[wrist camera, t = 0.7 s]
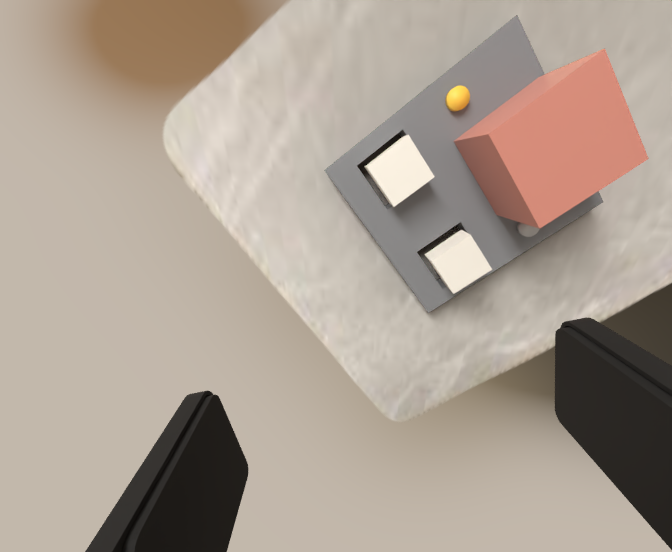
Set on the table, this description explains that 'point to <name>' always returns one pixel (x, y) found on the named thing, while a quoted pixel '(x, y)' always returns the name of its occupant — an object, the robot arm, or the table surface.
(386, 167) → the block
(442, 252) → the block
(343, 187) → the board
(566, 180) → the cap
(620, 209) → the table surface
